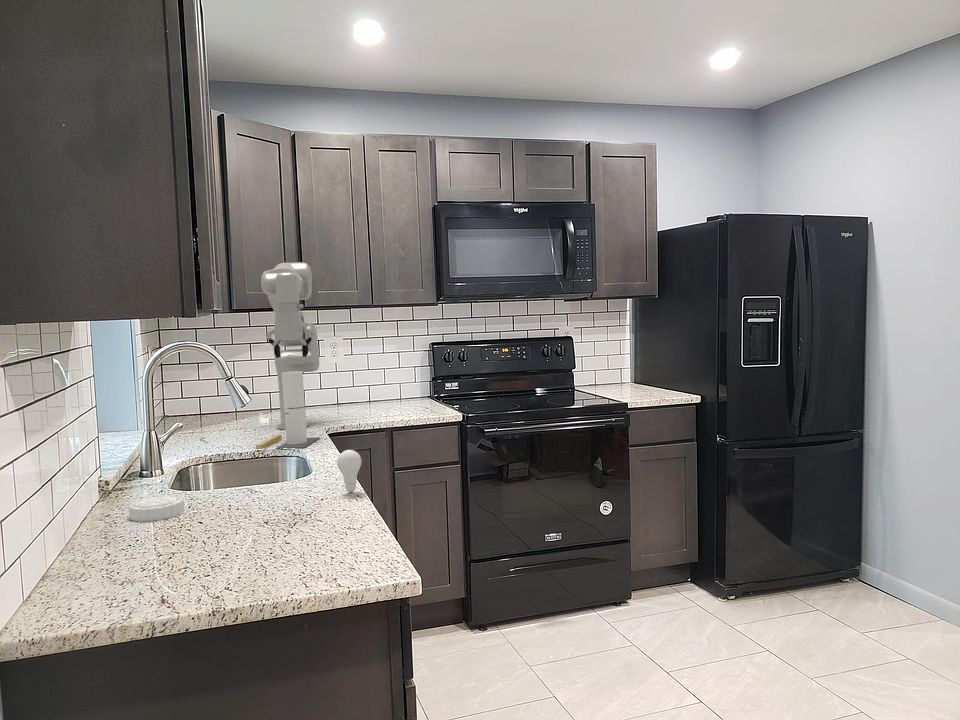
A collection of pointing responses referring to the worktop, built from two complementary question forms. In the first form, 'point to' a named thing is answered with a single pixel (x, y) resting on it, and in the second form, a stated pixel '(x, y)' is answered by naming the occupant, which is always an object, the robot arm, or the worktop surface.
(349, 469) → the lightbulb
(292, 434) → the grey tall block
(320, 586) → the worktop surface
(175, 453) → the worktop surface
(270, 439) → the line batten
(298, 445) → the mat
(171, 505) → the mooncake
